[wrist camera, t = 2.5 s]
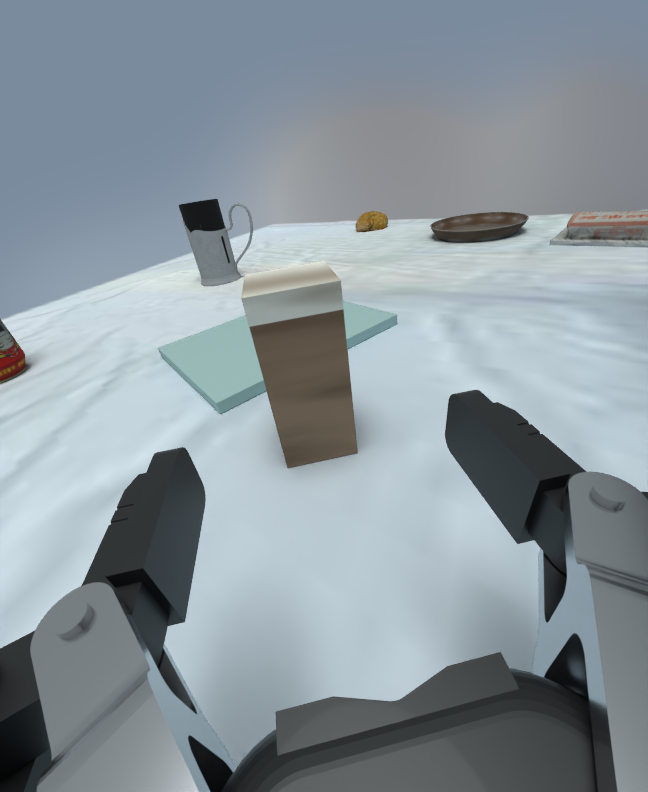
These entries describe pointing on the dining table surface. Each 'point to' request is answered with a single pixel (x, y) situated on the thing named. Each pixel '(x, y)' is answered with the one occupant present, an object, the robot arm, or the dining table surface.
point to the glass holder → (211, 241)
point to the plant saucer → (478, 226)
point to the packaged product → (605, 229)
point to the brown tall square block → (303, 359)
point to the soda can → (10, 356)
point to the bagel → (371, 221)
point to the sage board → (248, 355)
